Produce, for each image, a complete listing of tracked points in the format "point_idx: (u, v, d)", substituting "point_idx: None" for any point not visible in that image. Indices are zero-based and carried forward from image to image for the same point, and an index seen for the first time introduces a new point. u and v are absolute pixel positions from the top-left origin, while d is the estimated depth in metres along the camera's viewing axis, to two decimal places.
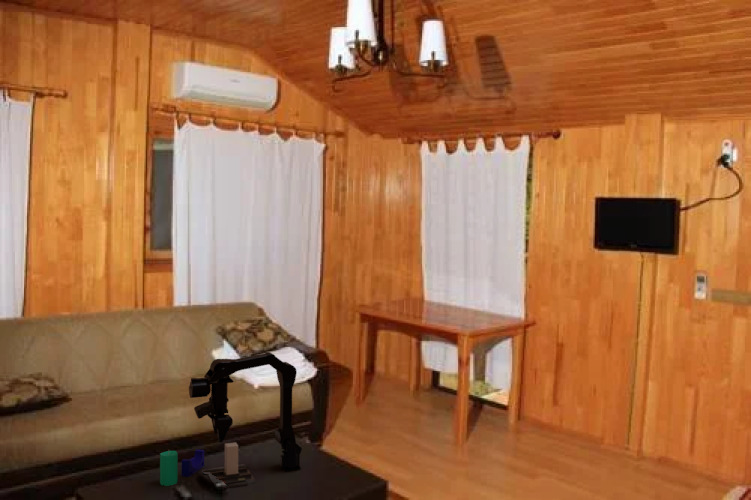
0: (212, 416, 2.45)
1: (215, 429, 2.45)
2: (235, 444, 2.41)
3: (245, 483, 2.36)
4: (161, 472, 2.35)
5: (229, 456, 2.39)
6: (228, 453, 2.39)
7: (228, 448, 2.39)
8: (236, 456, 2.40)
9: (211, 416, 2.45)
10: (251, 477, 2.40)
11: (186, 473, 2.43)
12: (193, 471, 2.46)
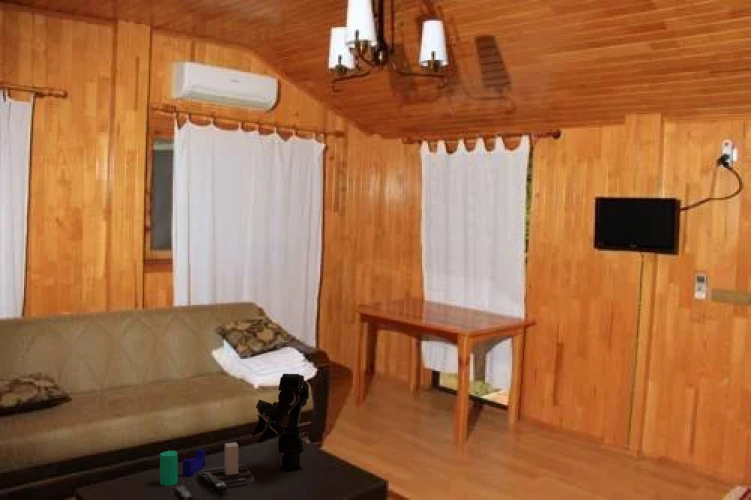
0: (261, 419, 2.50)
1: (255, 431, 2.49)
2: (235, 444, 2.41)
3: (245, 483, 2.36)
4: (161, 472, 2.35)
5: (229, 456, 2.39)
6: (228, 453, 2.39)
7: (228, 448, 2.39)
8: (236, 456, 2.40)
9: (261, 418, 2.50)
10: (251, 477, 2.40)
11: (187, 473, 2.43)
12: (194, 471, 2.46)
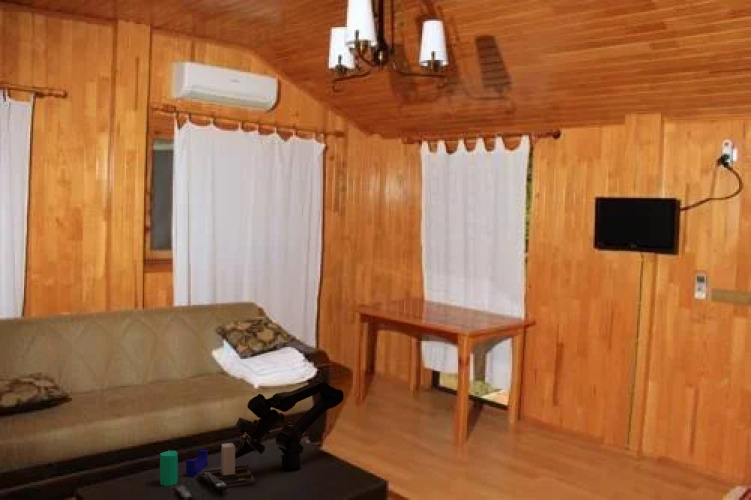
0: None
1: None
2: (232, 444, 2.41)
3: (245, 483, 2.36)
4: (161, 472, 2.35)
5: (226, 456, 2.38)
6: (225, 453, 2.38)
7: (225, 448, 2.38)
8: (233, 456, 2.39)
9: None
10: (251, 477, 2.40)
11: (190, 473, 2.43)
12: (197, 471, 2.46)
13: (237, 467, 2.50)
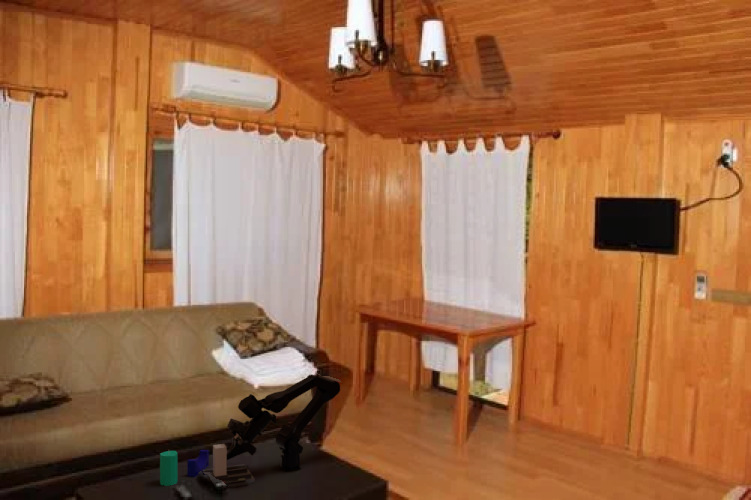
0: None
1: None
2: (223, 445, 2.40)
3: (245, 483, 2.36)
4: (161, 472, 2.35)
5: (217, 457, 2.37)
6: (216, 455, 2.37)
7: (216, 449, 2.37)
8: (224, 458, 2.38)
9: None
10: (251, 477, 2.40)
11: (191, 473, 2.43)
12: (198, 471, 2.46)
13: (237, 467, 2.50)
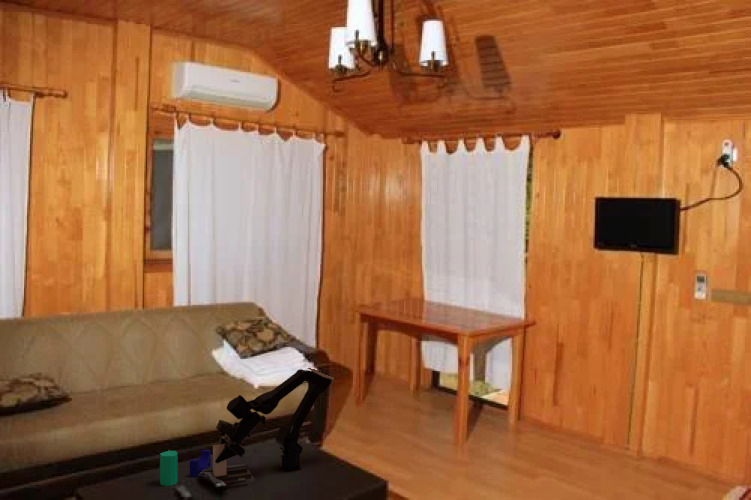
0: (223, 441, 2.42)
1: None
2: (223, 445, 2.40)
3: (245, 483, 2.36)
4: (161, 472, 2.35)
5: (217, 457, 2.37)
6: (216, 455, 2.37)
7: (216, 449, 2.37)
8: None
9: (222, 441, 2.42)
10: (251, 477, 2.40)
11: (194, 473, 2.43)
12: (201, 471, 2.46)
13: (237, 467, 2.50)
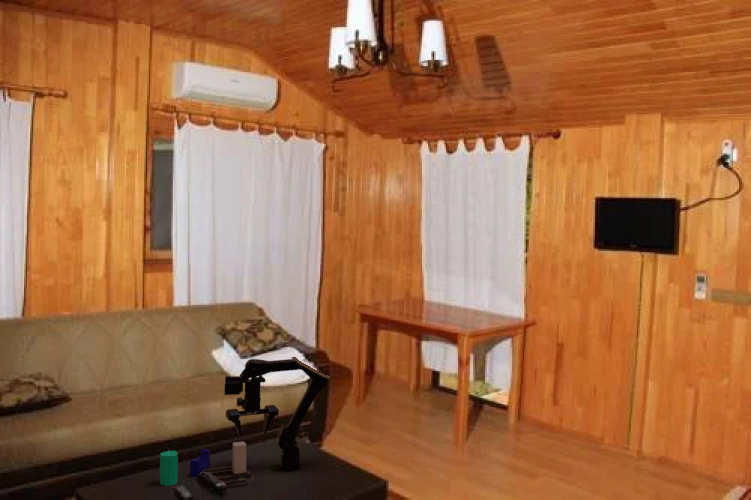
0: (264, 416, 2.53)
1: (263, 429, 2.52)
2: (243, 443, 2.42)
3: (245, 483, 2.36)
4: (161, 472, 2.35)
5: (237, 455, 2.40)
6: (236, 452, 2.40)
7: (236, 447, 2.40)
8: (244, 455, 2.41)
9: (264, 415, 2.53)
10: (251, 477, 2.40)
11: (194, 473, 2.43)
12: (201, 471, 2.46)
13: None
